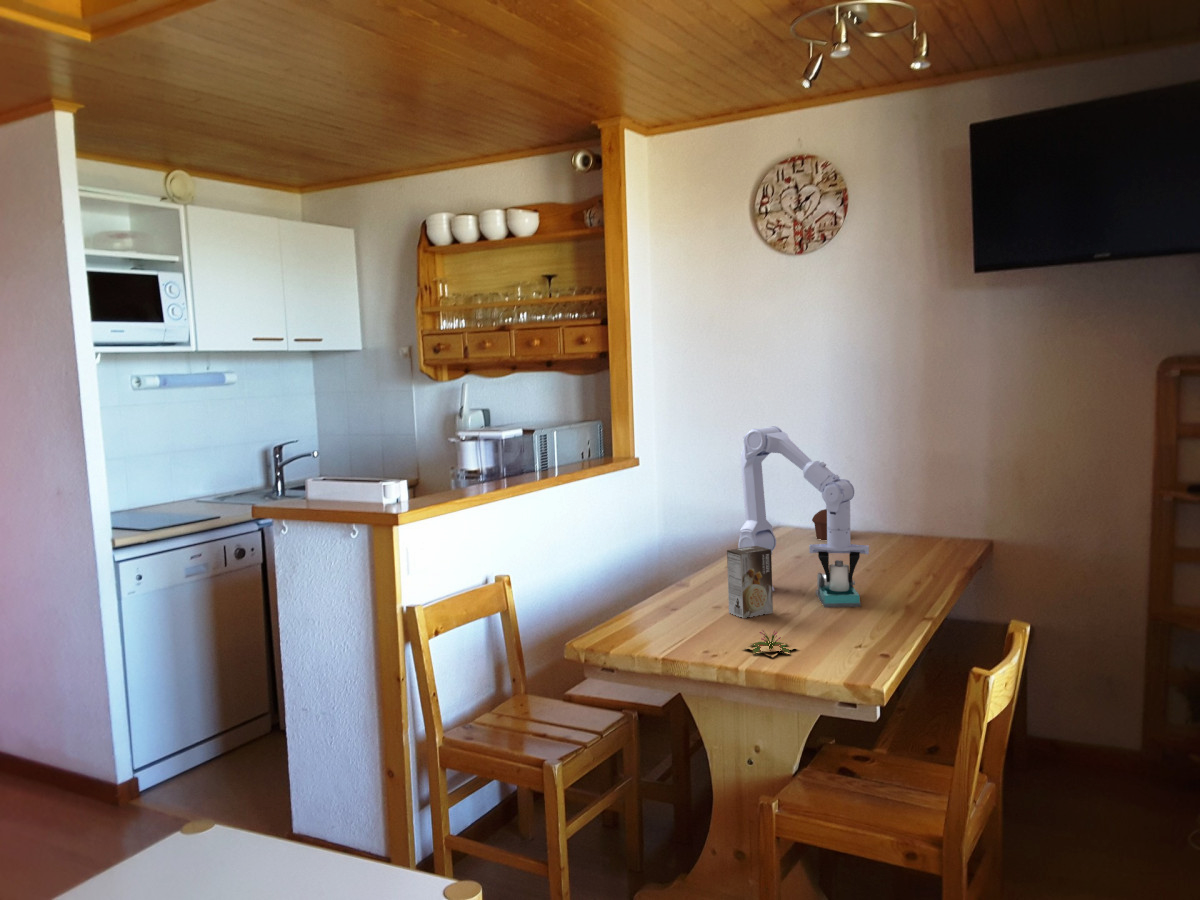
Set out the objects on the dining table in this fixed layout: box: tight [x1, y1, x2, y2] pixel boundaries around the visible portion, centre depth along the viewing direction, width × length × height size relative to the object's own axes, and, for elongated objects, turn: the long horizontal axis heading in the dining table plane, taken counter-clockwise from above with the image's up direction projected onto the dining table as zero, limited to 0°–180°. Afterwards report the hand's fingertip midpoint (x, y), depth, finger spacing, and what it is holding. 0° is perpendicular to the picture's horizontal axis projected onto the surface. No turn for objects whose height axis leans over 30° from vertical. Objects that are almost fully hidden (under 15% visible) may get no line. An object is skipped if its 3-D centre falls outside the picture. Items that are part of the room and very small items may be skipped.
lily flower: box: [749, 629, 791, 655], centre depth 207 cm, size 12×12×5 cm
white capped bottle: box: [829, 559, 850, 592], centre depth 243 cm, size 5×5×7 cm
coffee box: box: [726, 546, 774, 619], centre depth 236 cm, size 9×6×16 cm
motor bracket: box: [815, 572, 862, 608], centre depth 246 cm, size 10×14×6 cm
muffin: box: [811, 508, 827, 541], centre depth 326 cm, size 12×11×10 cm
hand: (839, 581), depth 243 cm, fingers closed on white capped bottle, 5 cm apart
